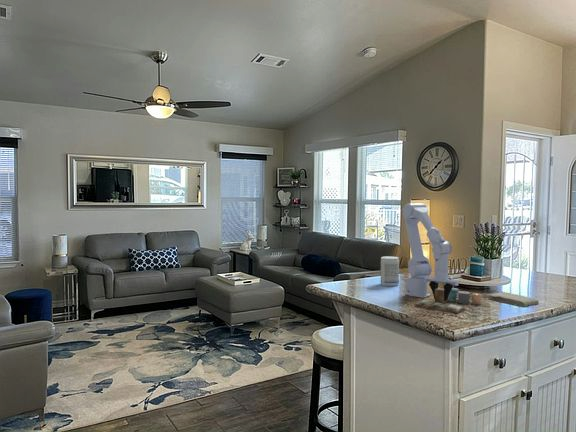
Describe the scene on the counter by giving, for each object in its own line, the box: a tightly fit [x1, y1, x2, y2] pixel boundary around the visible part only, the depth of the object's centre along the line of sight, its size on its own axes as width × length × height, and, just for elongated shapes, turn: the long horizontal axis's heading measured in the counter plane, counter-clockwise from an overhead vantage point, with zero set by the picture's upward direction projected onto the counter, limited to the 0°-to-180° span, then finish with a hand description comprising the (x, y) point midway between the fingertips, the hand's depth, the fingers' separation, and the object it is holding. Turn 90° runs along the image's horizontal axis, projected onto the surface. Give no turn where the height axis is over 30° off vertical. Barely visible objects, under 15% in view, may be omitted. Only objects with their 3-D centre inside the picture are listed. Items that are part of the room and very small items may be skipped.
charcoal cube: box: [457, 290, 471, 305], centre depth 191 cm, size 4×4×4 cm
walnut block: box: [434, 287, 448, 304], centre depth 190 cm, size 4×4×6 cm
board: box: [414, 299, 466, 314], centre depth 181 cm, size 18×8×1 cm, turn 49°
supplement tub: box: [380, 255, 400, 287], centre depth 229 cm, size 10×10×15 cm
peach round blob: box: [470, 292, 482, 305], centre depth 189 cm, size 4×4×4 cm
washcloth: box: [488, 291, 540, 307], centre depth 194 cm, size 12×18×3 cm, turn 30°
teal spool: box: [447, 287, 460, 302], centre depth 195 cm, size 5×5×5 cm
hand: (440, 299), depth 190 cm, fingers closed on walnut block, 4 cm apart
